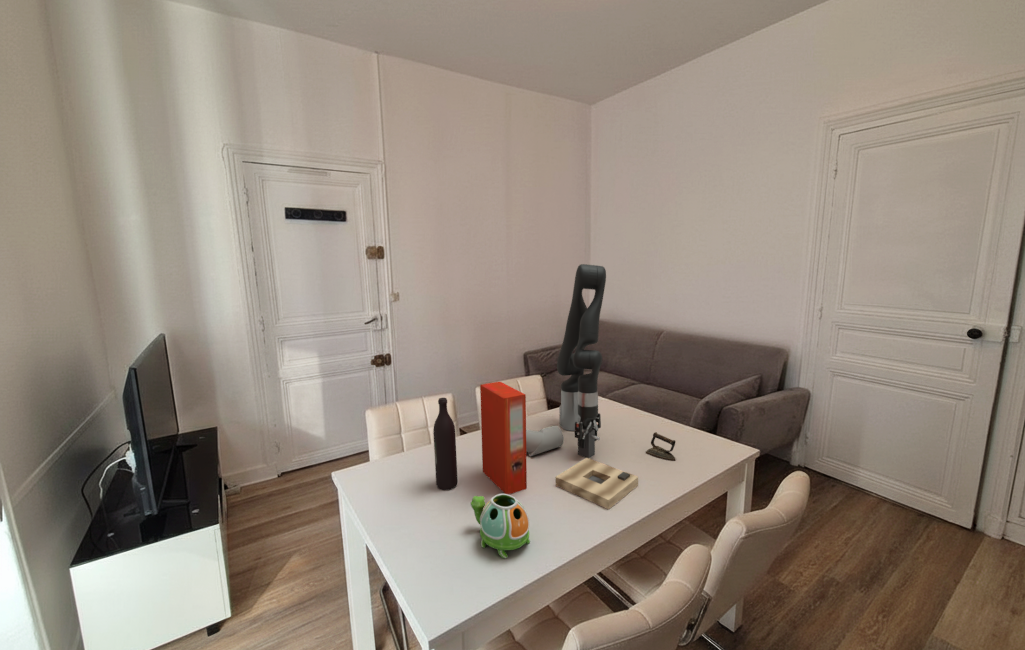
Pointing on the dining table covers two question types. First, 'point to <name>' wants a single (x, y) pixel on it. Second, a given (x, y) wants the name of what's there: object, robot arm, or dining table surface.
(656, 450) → the clothes iron
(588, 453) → the plug
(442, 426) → the wine bottle
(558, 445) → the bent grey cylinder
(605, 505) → the socket board
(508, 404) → the file binder
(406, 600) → the dining table surface
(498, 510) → the turtle holder
